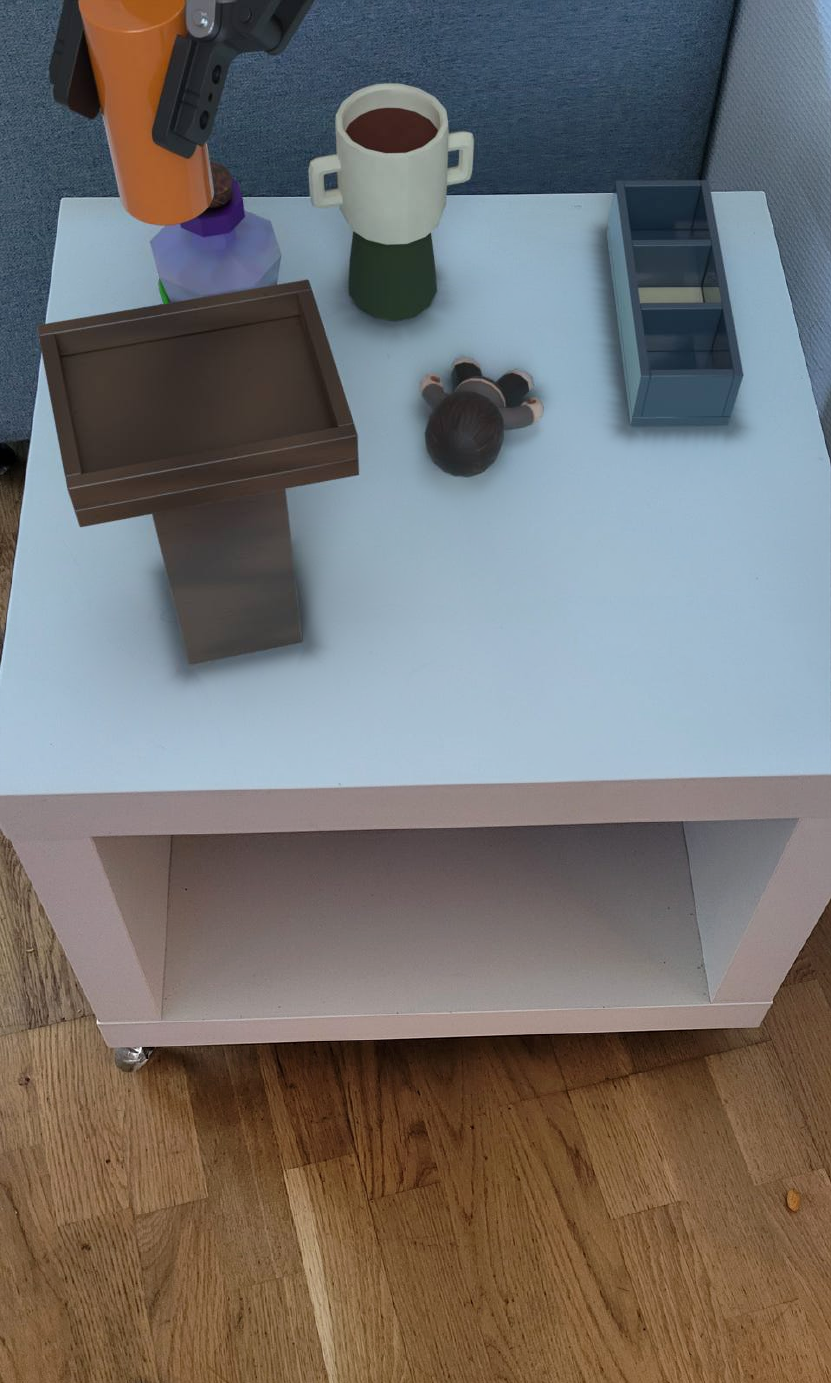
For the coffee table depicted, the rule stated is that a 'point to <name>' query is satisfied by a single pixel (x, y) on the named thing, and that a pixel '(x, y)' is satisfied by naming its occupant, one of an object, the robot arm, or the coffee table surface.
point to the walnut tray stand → (205, 445)
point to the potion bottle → (216, 248)
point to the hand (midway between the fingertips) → (123, 129)
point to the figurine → (475, 416)
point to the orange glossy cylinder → (143, 107)
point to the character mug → (391, 192)
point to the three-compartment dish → (672, 304)
